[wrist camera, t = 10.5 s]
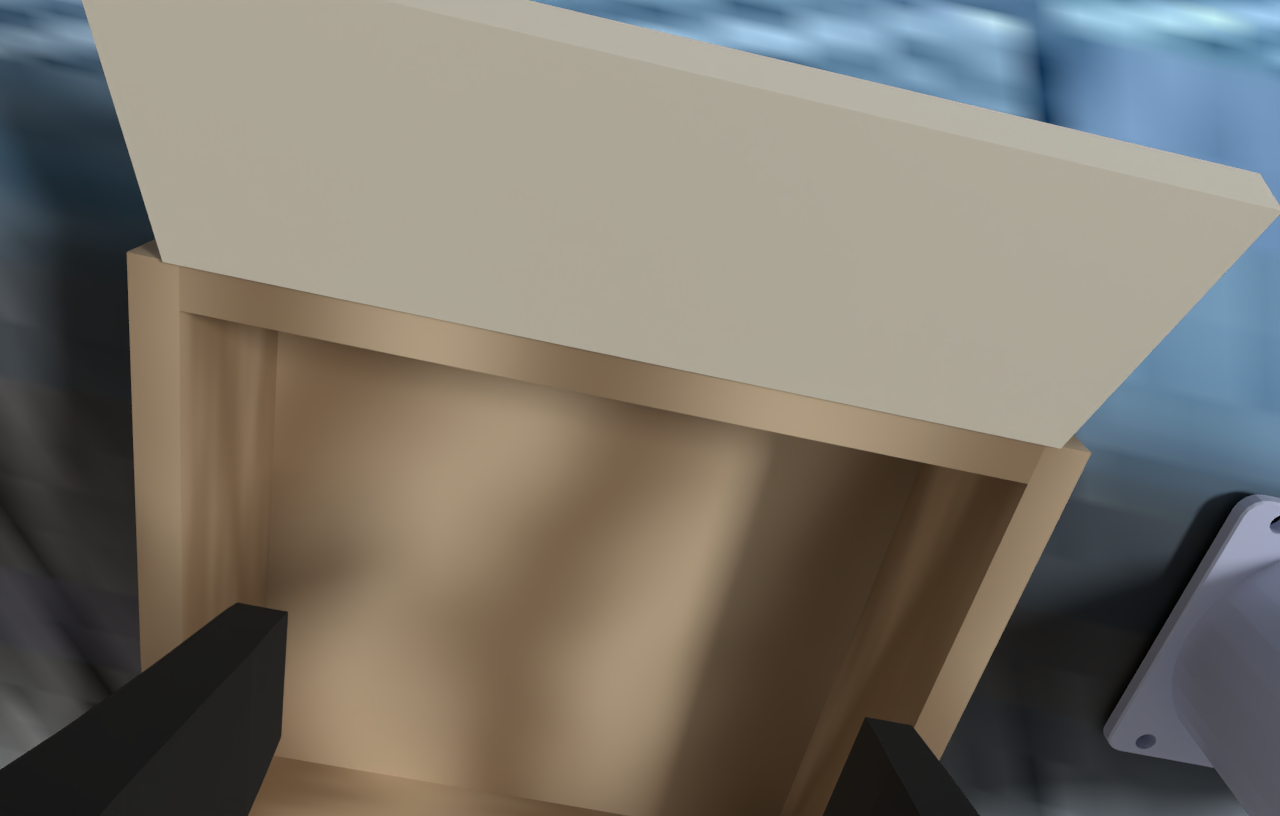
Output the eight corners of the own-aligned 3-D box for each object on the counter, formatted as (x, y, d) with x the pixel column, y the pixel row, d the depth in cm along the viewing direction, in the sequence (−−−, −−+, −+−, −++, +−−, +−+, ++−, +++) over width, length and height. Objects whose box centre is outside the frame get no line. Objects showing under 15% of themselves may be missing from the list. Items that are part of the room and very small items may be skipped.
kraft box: (988, 347, 19) (1091, 453, 15) (785, 838, 26) (813, 1015, 21) (259, 190, 18) (126, 251, 14) (242, 747, 25) (149, 914, 20)
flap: (1060, 449, 15) (1051, 412, 15) (1283, 211, 11) (1259, 174, 11) (162, 261, 13) (185, 229, 14) (57, -77, 10) (95, -103, 10)
